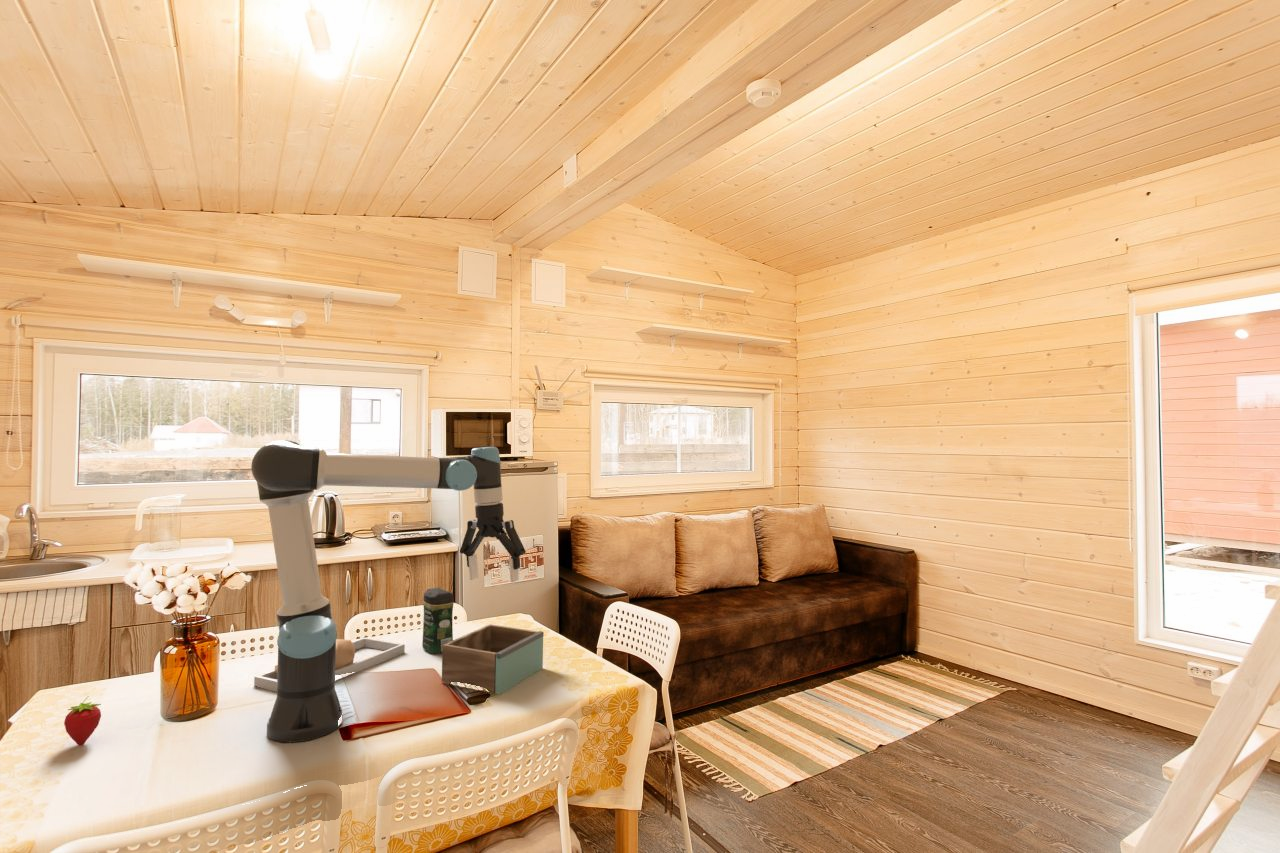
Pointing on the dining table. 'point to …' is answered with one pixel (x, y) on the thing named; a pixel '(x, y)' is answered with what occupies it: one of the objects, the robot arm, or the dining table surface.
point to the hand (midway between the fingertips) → (494, 579)
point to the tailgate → (518, 662)
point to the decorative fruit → (82, 721)
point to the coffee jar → (437, 619)
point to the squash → (340, 654)
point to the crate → (478, 655)
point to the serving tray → (391, 651)
